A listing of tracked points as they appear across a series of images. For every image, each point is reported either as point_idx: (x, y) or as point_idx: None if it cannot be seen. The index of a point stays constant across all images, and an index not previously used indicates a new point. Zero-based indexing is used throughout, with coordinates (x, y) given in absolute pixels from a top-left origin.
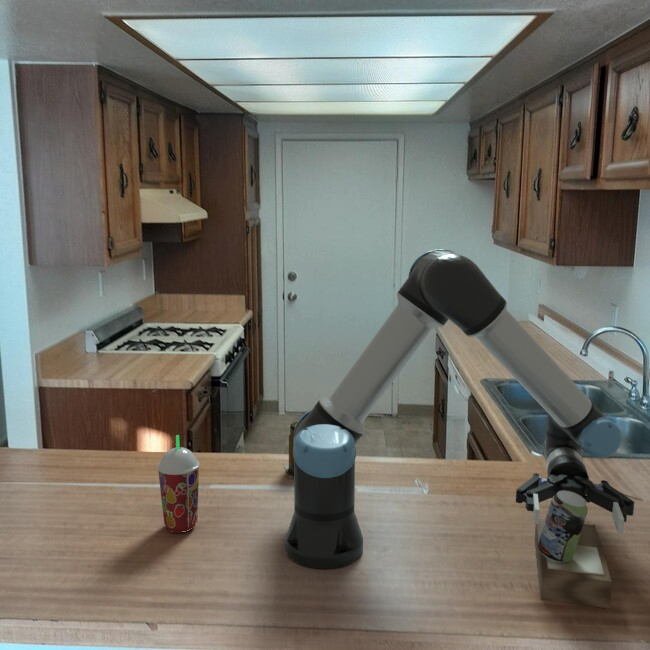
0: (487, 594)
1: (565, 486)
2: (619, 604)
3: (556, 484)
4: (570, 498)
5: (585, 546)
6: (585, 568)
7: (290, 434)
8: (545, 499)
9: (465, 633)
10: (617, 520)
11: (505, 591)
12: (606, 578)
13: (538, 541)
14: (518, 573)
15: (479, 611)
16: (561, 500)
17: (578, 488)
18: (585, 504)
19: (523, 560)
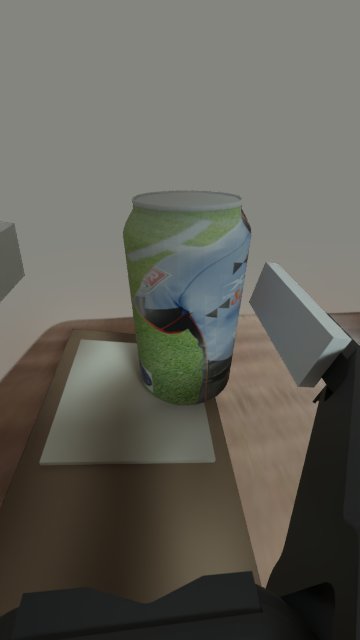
0: (264, 374)
1: (225, 577)
2: (48, 384)
3: (334, 578)
4: (191, 198)
5: (81, 458)
6: (117, 351)
7: None
8: (304, 470)
9: (255, 315)
10: (5, 255)
11: (244, 385)
12: (79, 335)
13: (233, 478)
14: (241, 449)
15: (258, 343)
16: (218, 194)
17: (55, 590)
18: (139, 195)
19: (248, 525)
